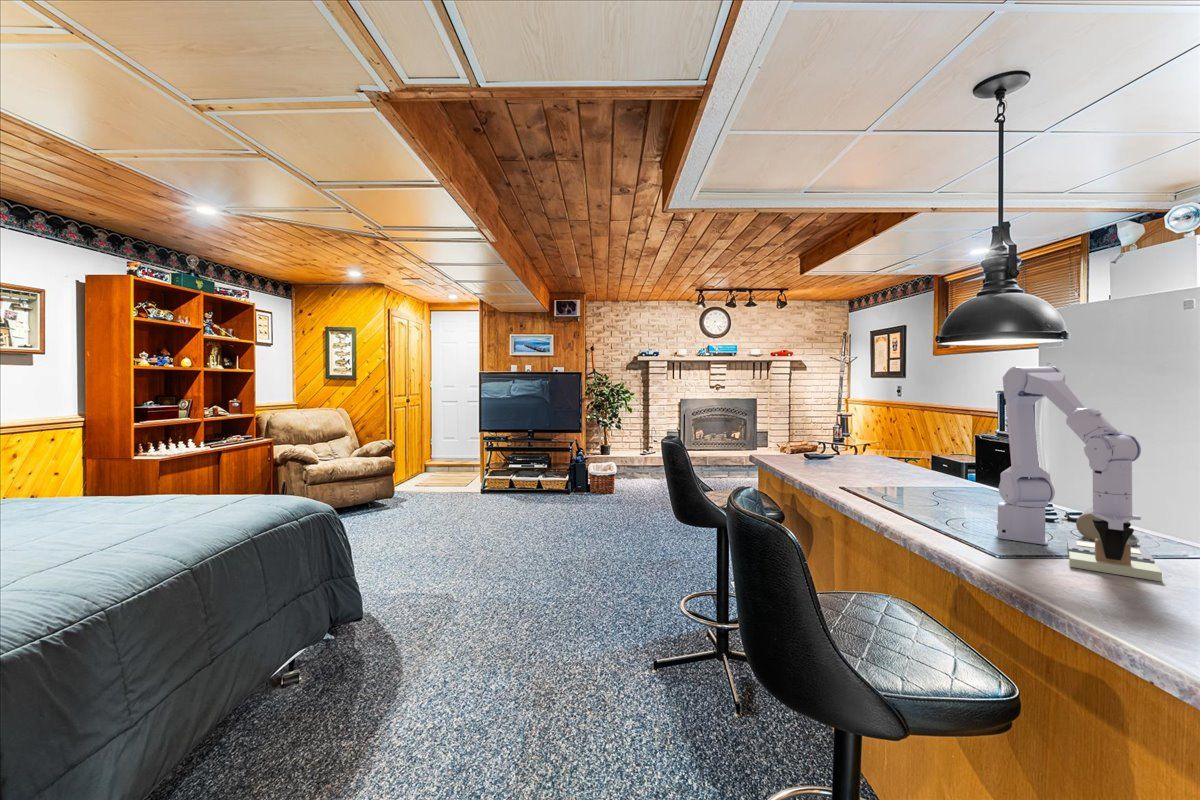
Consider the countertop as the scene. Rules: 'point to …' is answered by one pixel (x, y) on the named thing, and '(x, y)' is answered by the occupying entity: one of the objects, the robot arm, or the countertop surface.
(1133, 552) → the board
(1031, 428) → the robot arm
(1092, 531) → the ceramic mug
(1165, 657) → the countertop surface
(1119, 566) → the stub
